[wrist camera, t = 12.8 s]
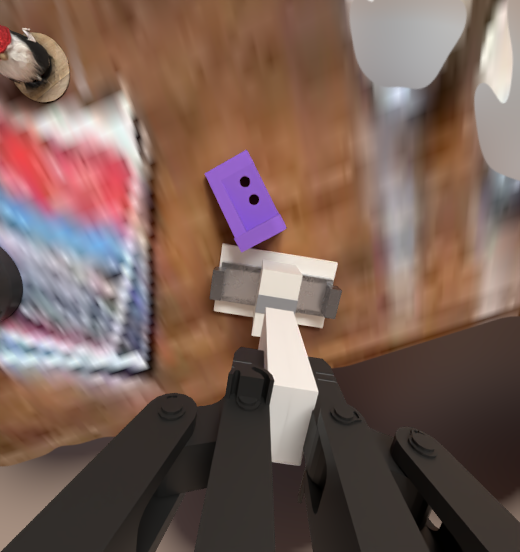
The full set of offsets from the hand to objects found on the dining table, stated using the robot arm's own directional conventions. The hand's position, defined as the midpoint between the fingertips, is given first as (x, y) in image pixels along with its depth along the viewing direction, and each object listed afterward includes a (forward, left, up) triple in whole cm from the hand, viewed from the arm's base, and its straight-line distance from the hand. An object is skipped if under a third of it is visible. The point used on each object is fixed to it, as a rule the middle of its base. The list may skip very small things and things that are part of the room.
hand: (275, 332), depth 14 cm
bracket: (-4, +7, -29) cm, 30 cm away
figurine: (-35, +20, -29) cm, 49 cm away
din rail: (+2, -5, -28) cm, 29 cm away
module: (+2, -5, -26) cm, 26 cm away
